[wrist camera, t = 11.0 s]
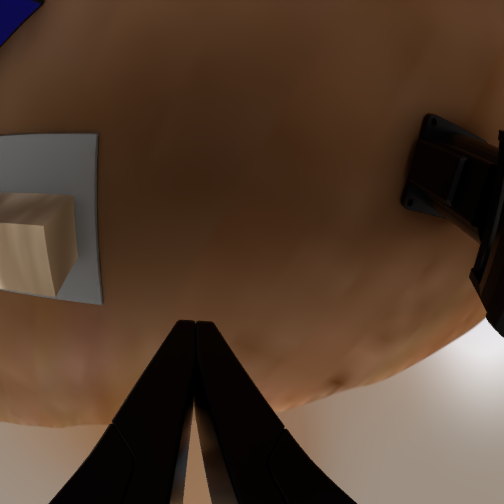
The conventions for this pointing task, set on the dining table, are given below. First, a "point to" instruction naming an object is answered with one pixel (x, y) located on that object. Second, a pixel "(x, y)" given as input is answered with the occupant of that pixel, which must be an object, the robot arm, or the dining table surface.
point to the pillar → (36, 242)
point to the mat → (66, 183)
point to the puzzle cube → (14, 15)
